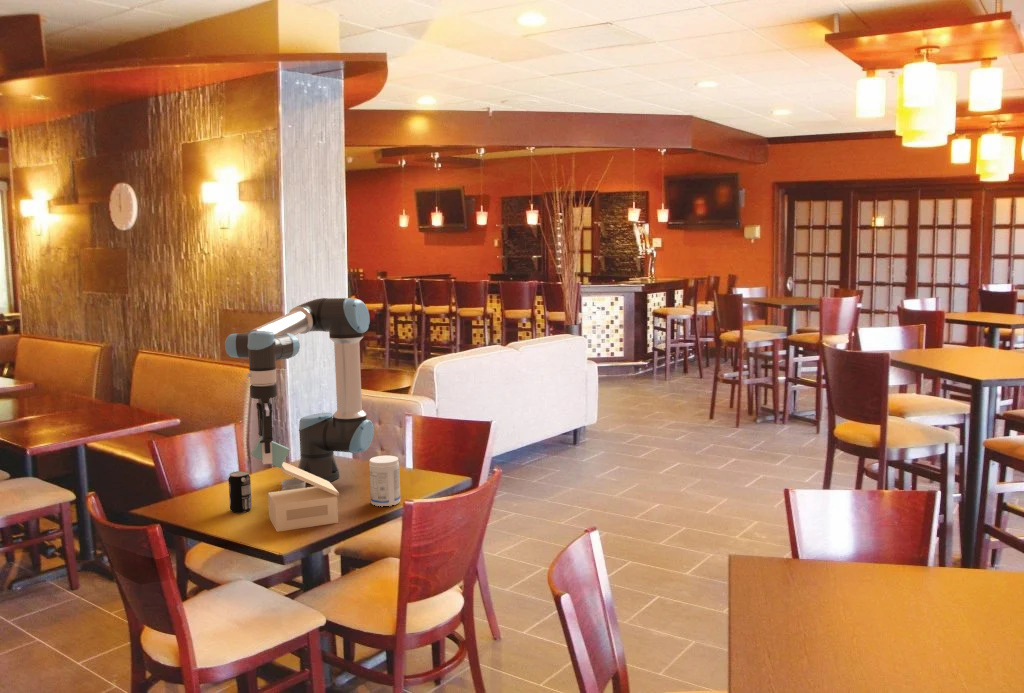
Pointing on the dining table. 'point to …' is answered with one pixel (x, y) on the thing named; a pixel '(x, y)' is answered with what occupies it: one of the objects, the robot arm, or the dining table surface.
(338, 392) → the robot arm
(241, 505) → the beverage can
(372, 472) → the supplement tub
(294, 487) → the cup
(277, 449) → the flap
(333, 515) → the carton
